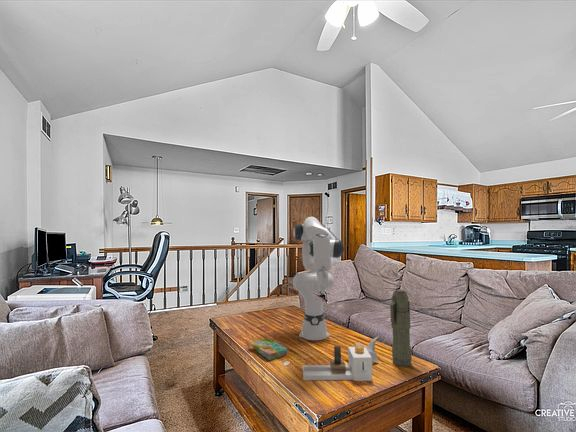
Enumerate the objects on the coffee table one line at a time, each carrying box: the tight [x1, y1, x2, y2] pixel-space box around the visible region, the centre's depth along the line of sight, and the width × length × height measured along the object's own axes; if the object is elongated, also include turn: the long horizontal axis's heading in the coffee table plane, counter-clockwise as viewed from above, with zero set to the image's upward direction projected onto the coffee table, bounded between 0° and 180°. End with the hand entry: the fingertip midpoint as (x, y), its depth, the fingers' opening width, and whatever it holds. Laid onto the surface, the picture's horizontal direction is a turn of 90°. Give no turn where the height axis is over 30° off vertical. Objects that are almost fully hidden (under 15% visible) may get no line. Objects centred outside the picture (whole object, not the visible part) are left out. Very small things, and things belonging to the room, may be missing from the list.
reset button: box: [355, 345, 365, 353], centre depth 140 cm, size 4×4×2 cm
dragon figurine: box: [346, 335, 380, 366], centre depth 157 cm, size 15×15×9 cm
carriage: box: [329, 345, 346, 373], centre depth 139 cm, size 7×6×10 cm
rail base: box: [302, 346, 373, 382], centre depth 139 cm, size 13×30×10 cm, turn 89°
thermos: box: [390, 289, 412, 368], centre depth 151 cm, size 9×12×35 cm
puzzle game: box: [249, 338, 289, 361], centre depth 165 cm, size 12×5×20 cm
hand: (322, 293), depth 154 cm, fingers closed
